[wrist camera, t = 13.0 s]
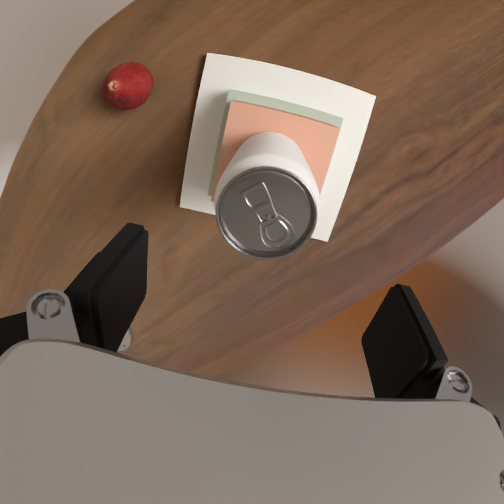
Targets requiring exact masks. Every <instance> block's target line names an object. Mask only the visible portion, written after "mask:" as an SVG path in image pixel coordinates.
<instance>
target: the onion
mask: <svg viewBox="0 0 504 504" xmlns="http://www.w3.org/2000/svg"><path fill="white" fill-rule="evenodd" d="M152 88H153V77H152V75H151V73H150V70H149V69H147V68H146V67H145V66H144V65H142V64H140V63H135V62H130V63H125V64H121V65H119V66H118V67H116V68H114V69H113V70H112V71H111V72H110V73H109V75H108V76H107V77H106V80H105V83H104V94H105V97H106V100H107V101H108V102H109V103H110V104H111V105H112V106H113V107H116V108H119V109H122V110H127V109H134V108H136V107H138V106H140V105H141V104H143V103H144V102H145V101H146V100H147V98H148V97H149V96H150V94H151V91H152Z"/></svg>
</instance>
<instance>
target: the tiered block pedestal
mask: <svg viewBox="0 0 504 504" xmlns="http://www.w3.org/2000/svg"><path fill="white" fill-rule="evenodd" d="M375 98H376V96H374V95H371V94H369V93H366V92H363V91H361V90H358V89H355V88H353V87H350V86H347V85H344V84H341V83H338V82H335V81H332V80H329V79H326V78H322V77H319V76H316V75H312V74H309V73H305V72H302V71H298V70H294V69H290V68H286V67H282V66H278V65H273V64H269V63H264V62H260V61H255V60H249V59H244V58H238V57H232V56H226V55H219V54H212V53H207V57H206V62H205V66H204V70H203V75H202V79H201V84H200V89H199V93H198V98H197V103H196V108H195V113H194V119H193V124H192V129H191V135H190V141H189V147H188V153H187V159H186V165H185V172H184V179H183V185H182V193H181V200H180V207H182V208H186V209H191V210H195V211H200V212H205V213H209V214H214V215H216V214H215V209H214V197H215V191H216V188H217V185H218V182H219V180H220V178H221V176H222V175H223V173H224V171H225V169H226V168H227V166H228V165H229V163H230V161H231V160H232V158H233V157H234V155H235V153H236V152H237V150H238V149H239V148H240V146H241V145H242V144H243V143H244V142H245V141H246V140H247V139H249V138H250V137H252V136H254V135H256V134H259V133H263V132H275V133H280V134H283V135H285V136H287V137H289V138H290V139H292V140H293V141H294V142H295V143H296V144H297V145H298V146H299V148H300V149H301V151H302V153H303V155H304V157H305V159H306V161H307V163H308V165H309V167H310V170H311V172H312V174H313V176H314V179H315V181H316V184H317V187H318V190H319V194H320V213H319V217H318V220H317V223H316V227H315V229H314V232H313V234H312V236H311V238H315V239H319V240H323V241H327V242H328V239H329V237H330V234H331V231H332V229H333V226H334V223H335V220H336V218H337V215H338V212H339V210H340V207H341V204H342V201H343V198H344V196H345V193H346V190H347V187H348V184H349V181H350V178H351V175H352V172H353V169H354V166H355V163H356V160H357V157H358V154H359V151H360V148H361V145H362V142H363V138H364V135H365V132H366V129H367V125H368V122H369V119H370V115H371V112H372V108H373V105H374V101H375Z"/></svg>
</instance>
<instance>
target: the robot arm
mask: <svg viewBox="0 0 504 504" xmlns="http://www.w3.org/2000/svg"><path fill="white" fill-rule="evenodd" d="M147 252H148V231H146V230H144V226H142V225H138V224H134V223H127V224H126V225H125V226H124V227H123V228H122V230H121V231H120V232H119V233H118V234H117V235H116V236H115V237H114V238H113V239H112V240H111V241H110V242H109V243H108V244H107V246H106V247H105V248H104V249H103V250H102V251H101V252H99V253H97V254H96V255H95V256H94V257H93V259H92V260H91V261H90V262H89V263H88V264H87V265H86V266H85V268H84V269H83V270H82V271H81V272H80V273H79V275H78V276H77V277H76V278H75V279H74V280H73V282H72V283H71V284H70V285H69V286H68V288H67V289H66V290H65V291H64V292H62V291H59V290H55V289H46V290H43V291H39V292H38V293H36V294H34V295H33V296H32V297H31V298H30V299H29V301H28V303H27V308H26V312H23V313H19V314H16V315H12V316H8V317H4V318H0V504H504V436H503V435H502V433H501V427H500V422H499V420H498V418H497V417H496V416H495V415H493V414H492V413H491V412H489V411H488V410H487V409H486V408H484V407H483V406H482V405H480V404H479V403H478V402H477V401H476V400H474V399H473V398H472V397H471V394H472V384H471V381H470V379H469V377H468V376H467V375H466V374H465V373H464V372H463V371H462V370H460V369H458V368H456V367H448V368H447V369H446V370H445V369H444V365H445V364H446V363H447V362H448V359H447V357H446V354H445V352H444V350H443V349H442V346H441V344H440V342H439V340H438V338H437V336H436V334H435V332H434V330H433V328H432V326H431V324H430V322H429V320H428V318H427V316H426V314H425V312H424V311H423V309H422V307H421V305H420V303H419V301H418V300H417V298H416V296H415V294H414V292H413V291H412V289H411V288H410V287H409V286H405V285H400V284H396V285H395V286H394V287H391V288H390V290H389V292H388V293H387V295H386V297H385V298H384V300H383V302H382V304H381V306H380V307H379V309H378V311H377V312H376V314H375V316H374V318H373V319H372V321H371V323H370V324H369V326H368V328H367V329H366V331H365V332H364V334H363V336H362V346H363V350H364V354H365V358H366V361H367V365H368V369H369V373H370V377H371V382H372V386H373V390H374V394H375V398H368V397H350V396H338V395H326V394H315V393H307V392H298V391H290V390H283V389H275V388H269V387H263V386H257V385H250V384H245V383H240V382H234V381H229V380H224V379H219V378H214V377H209V376H205V375H200V374H196V373H191V372H187V371H183V370H179V369H175V368H171V367H167V366H164V365H160V364H156V363H152V362H148V361H145V360H141V359H137V358H134V357H130V356H127V355H124V354H120V353H117V352H118V351H123V350H125V349H127V348H128V347H129V345H130V343H131V341H132V333H131V330H130V328H129V327H130V325H131V323H132V321H133V319H134V317H135V315H136V313H137V311H138V309H139V308H140V306H141V304H142V302H143V300H144V298H145V295H146V289H147Z"/></svg>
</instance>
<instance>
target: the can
mask: <svg viewBox="0 0 504 504" xmlns="http://www.w3.org/2000/svg"><path fill="white" fill-rule="evenodd" d="M214 209H215V214H216V220H217V224H218V227H219V230H220V232H221V234H222V236H223V237H224V239H225V240H226V241H227V242H228V244H229V245H230V246H232V247H233V248H234V249H235V250H237V251H238V252H240V253H241V254H243V255H246V256H248V257H251V258H255V259H260V260H274V259H280V258H284V257H286V256H289V255H291V254H293V253H295V252H296V251H298V250H299V249H300V248H302V247H303V246H304V245H305V244H306V243H307V241H308V240H309V239H310V237H311V236H312V234H313V232H314V229H315V227H316V223H317V220H318V217H319V213H320V194H319V190H318V187H317V184H316V181H315V179H314V176H313V174H312V172H311V170H310V167H309V165H308V163H307V161H306V159H305V157H304V155H303V153H302V151H301V149H300V148H299V146H298V145H297V144H296V143H295V142H294V141H293V140H292V139H290V138H289V137H287V136H285V135H283V134H280V133H275V132H263V133H259V134H256V135H254V136H252V137H250V138H249V139H247V140H246V141H245V142H244V143H243V144H242V145H241V146H240V148H239V149H238V150H237V152H236V153H235V155H234V157H233V158H232V160H231V161H230V163H229V165H228V166H227V168H226V169H225V171H224V173H223V175H222V176H221V178H220V180H219V182H218V185H217V188H216V191H215V197H214Z"/></svg>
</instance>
